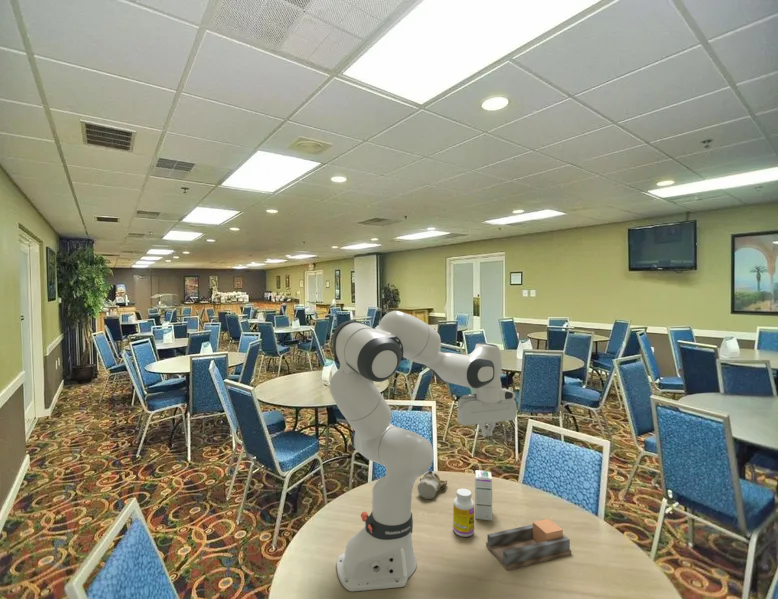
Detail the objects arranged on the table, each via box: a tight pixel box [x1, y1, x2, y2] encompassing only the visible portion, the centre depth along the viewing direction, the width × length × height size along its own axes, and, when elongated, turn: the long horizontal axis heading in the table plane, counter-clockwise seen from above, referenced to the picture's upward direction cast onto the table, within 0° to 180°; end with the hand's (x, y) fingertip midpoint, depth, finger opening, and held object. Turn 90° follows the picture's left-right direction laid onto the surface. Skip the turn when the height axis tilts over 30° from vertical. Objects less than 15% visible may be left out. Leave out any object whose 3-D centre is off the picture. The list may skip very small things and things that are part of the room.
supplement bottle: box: [452, 488, 475, 538], centre depth 125 cm, size 7×7×13 cm
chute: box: [485, 523, 572, 571], centre depth 116 cm, size 22×11×4 cm, turn 108°
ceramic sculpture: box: [417, 470, 448, 500], centre depth 149 cm, size 11×9×15 cm
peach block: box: [532, 518, 564, 543], centre depth 118 cm, size 6×6×5 cm
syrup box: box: [474, 469, 493, 521], centre depth 134 cm, size 6×6×14 cm
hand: (486, 435), depth 125 cm, fingers closed
